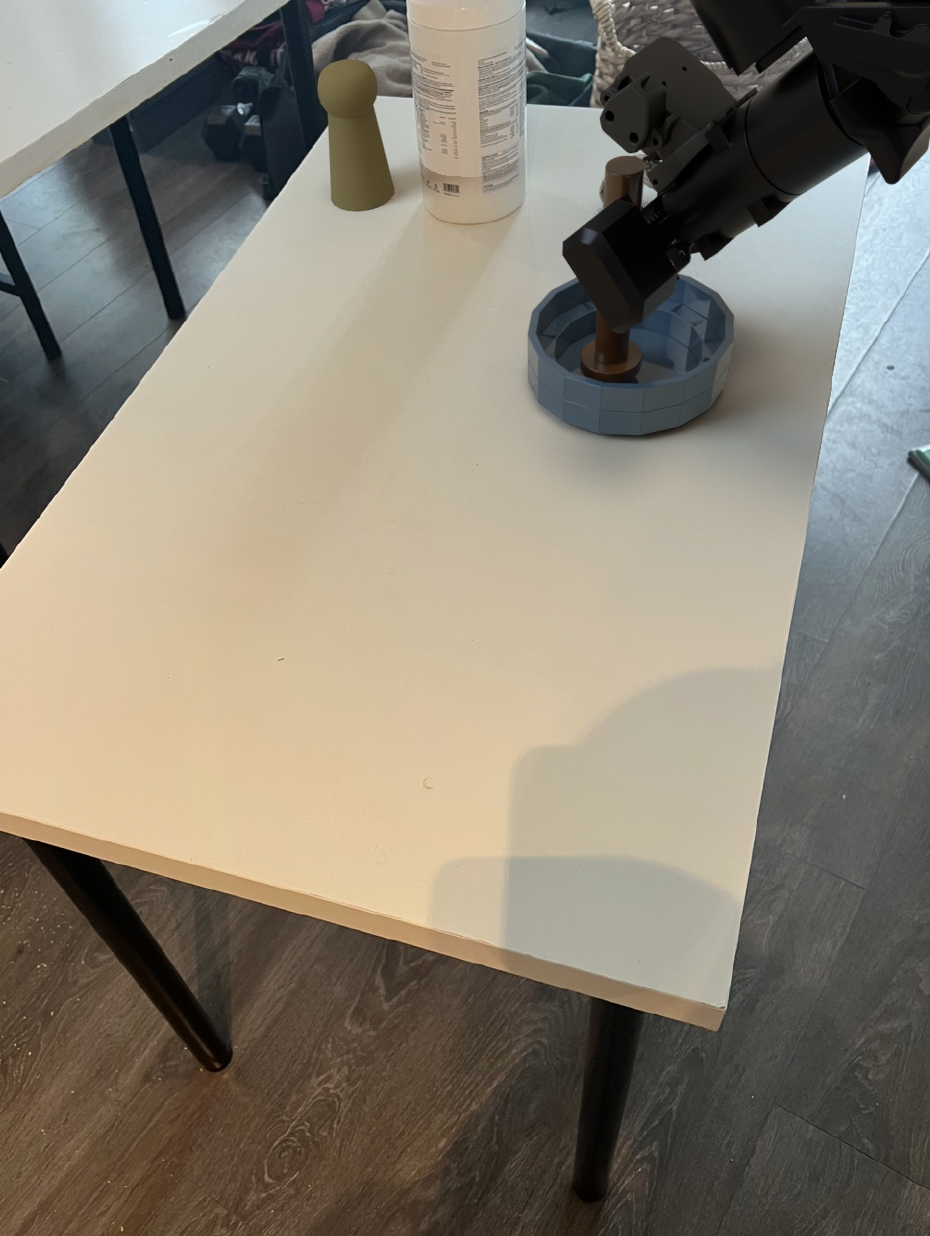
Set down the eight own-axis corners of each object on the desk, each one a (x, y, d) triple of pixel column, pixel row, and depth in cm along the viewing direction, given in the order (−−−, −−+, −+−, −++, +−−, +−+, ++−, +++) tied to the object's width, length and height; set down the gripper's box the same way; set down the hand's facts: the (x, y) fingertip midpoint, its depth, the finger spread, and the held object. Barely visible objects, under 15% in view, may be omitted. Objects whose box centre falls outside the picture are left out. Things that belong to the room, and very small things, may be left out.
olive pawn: (320, 190, 93) (298, 64, 84) (377, 170, 94) (360, 43, 85) (347, 218, 90) (326, 89, 81) (405, 196, 91) (391, 67, 82)
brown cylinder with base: (653, 364, 71) (677, 161, 59) (612, 393, 69) (628, 191, 58) (608, 340, 73) (622, 139, 61) (567, 367, 72) (573, 168, 60)
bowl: (682, 305, 77) (689, 251, 73) (755, 416, 69) (768, 362, 65) (507, 342, 76) (506, 290, 73) (560, 459, 68) (562, 407, 64)
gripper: (796, -64, 54) (615, 105, 68) (599, 75, 47) (442, 231, 60) (892, 119, 57) (699, 245, 70) (720, 276, 49) (543, 381, 63)
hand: (600, 271), depth 66 cm, fingers closed on brown cylinder with base, 2 cm apart
